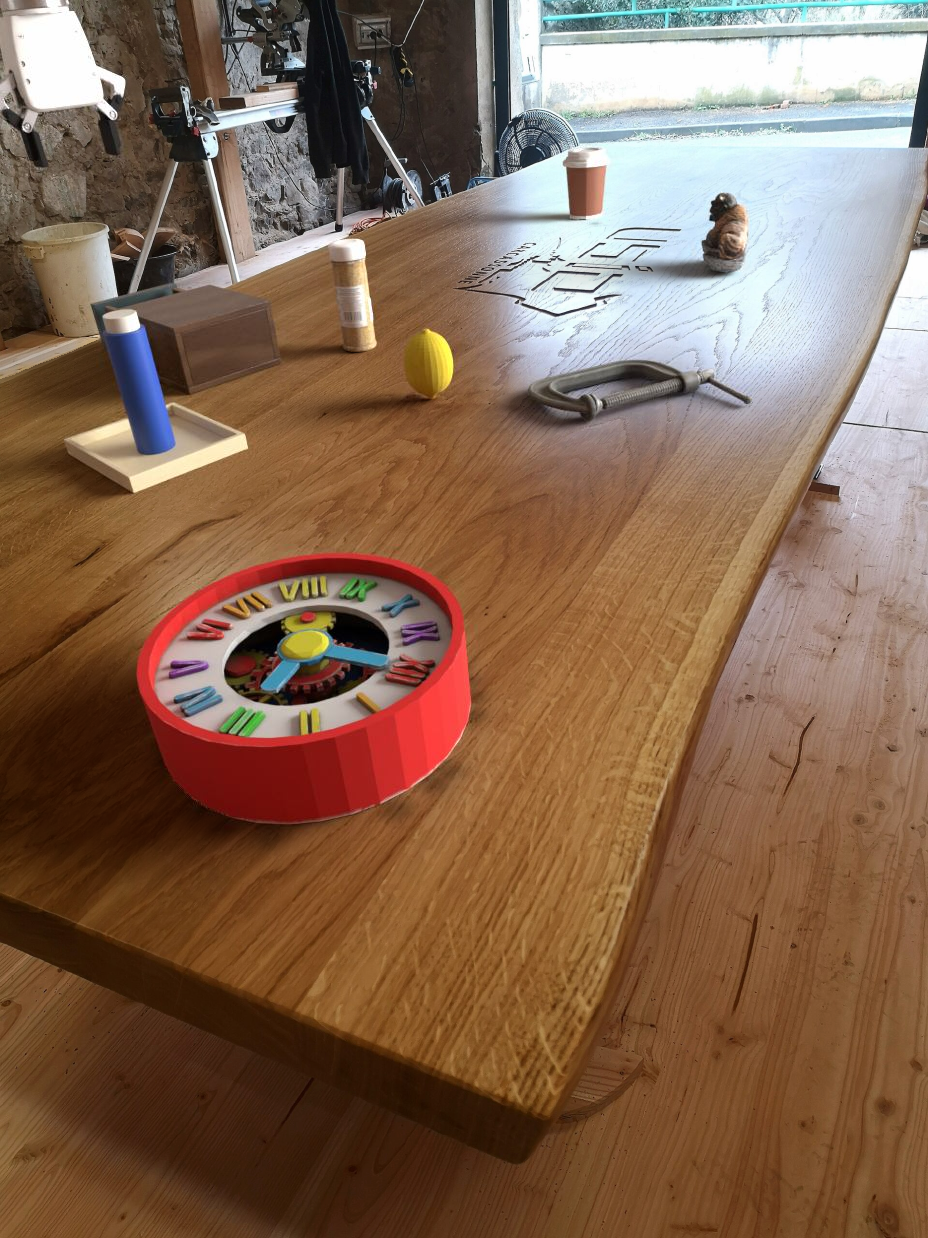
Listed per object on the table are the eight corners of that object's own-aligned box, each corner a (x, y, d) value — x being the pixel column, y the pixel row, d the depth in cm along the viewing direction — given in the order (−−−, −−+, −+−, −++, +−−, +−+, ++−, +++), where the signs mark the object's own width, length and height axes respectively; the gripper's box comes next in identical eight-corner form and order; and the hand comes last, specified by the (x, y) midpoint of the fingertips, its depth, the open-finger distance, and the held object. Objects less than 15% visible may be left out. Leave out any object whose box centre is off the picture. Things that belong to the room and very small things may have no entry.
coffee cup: (585, 209, 186) (585, 145, 179) (618, 214, 180) (619, 147, 173) (553, 217, 182) (552, 151, 175) (586, 222, 176) (586, 154, 169)
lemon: (464, 393, 104) (459, 323, 99) (439, 410, 100) (433, 338, 95) (424, 387, 106) (417, 319, 102) (398, 403, 102) (390, 333, 98)
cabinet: (134, 371, 119) (116, 308, 114) (222, 343, 126) (209, 284, 122) (189, 394, 110) (173, 328, 105) (281, 363, 117) (269, 300, 113)
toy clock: (253, 536, 66) (509, 574, 59) (268, 602, 69) (512, 646, 63) (62, 705, 51) (376, 782, 44) (93, 779, 54) (390, 861, 48)
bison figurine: (751, 275, 136) (759, 203, 131) (704, 278, 137) (710, 206, 131) (738, 256, 146) (745, 189, 140) (694, 259, 147) (699, 192, 141)
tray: (68, 453, 97) (63, 439, 96) (176, 415, 104) (173, 401, 103) (133, 493, 88) (128, 477, 87) (248, 448, 95) (245, 433, 94)
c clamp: (665, 359, 108) (666, 337, 107) (752, 405, 95) (755, 380, 93) (512, 391, 103) (511, 368, 102) (581, 445, 90) (582, 419, 88)
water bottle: (130, 448, 96) (90, 315, 88) (164, 436, 98) (128, 305, 90) (148, 458, 93) (109, 322, 85) (182, 445, 95) (147, 311, 87)
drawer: (90, 344, 127) (76, 298, 124) (168, 322, 134) (157, 278, 130) (150, 368, 116) (136, 319, 113) (232, 343, 123) (221, 296, 119)
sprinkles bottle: (382, 343, 121) (370, 237, 114) (366, 354, 118) (352, 246, 110) (353, 341, 123) (338, 236, 115) (336, 351, 120) (320, 245, 112)
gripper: (89, -4, 113) (128, 148, 123) (-53, 6, 104) (1, 169, 114) (114, -7, 108) (153, 151, 118) (-33, 3, 99) (22, 173, 109)
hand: (78, 160), depth 116 cm, fingers open, 9 cm apart
